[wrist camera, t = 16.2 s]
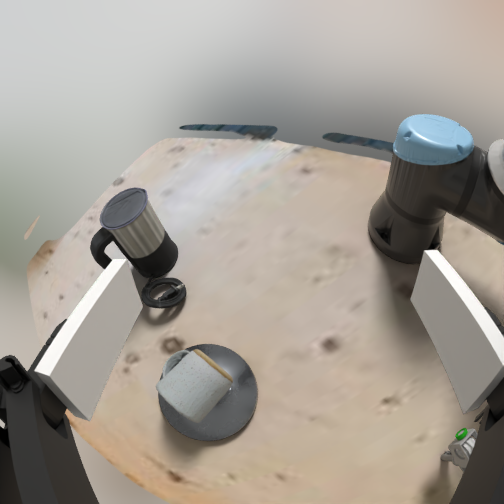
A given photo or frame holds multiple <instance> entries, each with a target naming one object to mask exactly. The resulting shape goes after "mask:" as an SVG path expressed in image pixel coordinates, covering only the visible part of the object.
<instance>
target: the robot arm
mask: <svg viewBox="0 0 504 504" xmlns="http://www.w3.org/2000/svg"><path fill="white" fill-rule="evenodd" d="M446 212H448V213H449V214H452V215H453V216H455V217H457V218H459V219H461V220H463V221H465V222H467V223H469V224H470V225H472V226H474V227H475V228H477V229H479V230H481V231H482V232H484V233H486V234H487V235H489V236H490V237H492V238H494V239H495V240H497V241H498V242H499V243H500V244H503V245H504V139H503V140H502V139H501V140H497V141H495V142H494V143H493V144H492V145H491V146H490V148H489V150H488V152H486V151H484V150H482V149H480V148H478V147H476V146H474V142H473V137H472V136H471V134H470V133H469V132H468V130H467V129H466V128H464V127H461V126H460V124H458V123H456V122H455V121H452V120H450V119H448V118H444V117H441V116H437V115H430V114H421V115H414V116H410V117H408V118H406V119H405V120H404V121H403V122H402V123H401V124H400V126H399V129H398V133H397V137H396V141H395V142H394V144H393V157H392V162H391V167H390V172H389V176H388V181H387V185H386V189H385V191H384V192H383V194H382V195H381V196H380V197H379V199H378V200H377V201H376V203H375V204H374V206H373V207H372V209H371V212H370V217H369V221H368V229H369V233H370V236H371V238H372V240H373V242H374V243H375V244H376V246H377V247H378V248H379V249H380V250H381V251H382V252H383V253H385V254H386V255H387V256H389V257H391V258H393V259H395V260H397V261H400V262H404V263H410V264H415V263H421V265H420V268H419V272H418V276H417V279H416V283H415V286H414V289H413V293H412V296H411V299H410V300H411V302H412V304H413V306H414V307H415V309H416V311H417V313H418V315H419V317H420V318H421V320H422V322H423V324H424V326H425V328H426V330H427V332H428V334H429V336H430V338H431V340H432V342H433V344H434V346H435V348H436V350H437V352H438V355H439V357H440V359H441V361H442V363H443V365H444V368H445V370H446V372H447V374H448V377H449V379H450V381H451V384H452V386H453V389H454V391H455V394H456V396H457V399H458V401H459V404H460V406H461V409H462V412H463V414H465V413H467V412H470V411H472V410H475V409H477V408H479V407H480V405H481V404H482V403H483V402H484V401H485V400H486V399H487V402H488V405H487V407H486V408H485V409H484V410H483V411H482V412H481V413H480V414H479V415H478V416H477V417H476V419H475V421H474V422H477V421H478V420H479V419H480V418H481V417H482V416H483V418H482V420H481V421H480V422H479V424H481V425H480V428H479V432H478V435H477V438H476V441H475V444H474V447H473V450H472V453H471V456H470V458H469V461H468V464H467V466H466V469H465V471H464V474H463V476H462V478H461V481H460V483H459V485H458V487H457V489H456V491H455V494H454V496H453V498H452V500H451V502H450V504H504V327H503V326H501V323H500V321H499V320H498V318H497V317H496V316H495V314H493V313H492V312H491V311H490V310H489V309H487V308H486V307H485V308H484V307H483V306H482V305H481V303H480V302H479V300H478V299H477V298H476V296H475V295H474V294H473V293H472V291H471V290H470V289H469V287H468V286H467V285H466V283H465V282H464V281H463V280H462V278H461V277H460V276H459V275H458V274H457V272H456V271H455V270H454V269H453V268H452V266H451V265H450V264H449V263H448V262H447V260H446V259H445V258H444V257H443V256H442V255H441V254H440V252H439V251H438V250H437V249H438V247H439V246H440V244H441V241H442V236H443V225H444V216H445V214H446ZM142 308H143V305H142V302H141V299H140V297H139V294H138V291H137V288H136V285H135V282H134V279H133V276H132V273H131V270H130V267H129V264H128V261H127V259H113V260H112V261H111V263H110V264H109V265H108V266H107V268H106V269H105V270H104V271H103V273H102V274H101V275H100V276H99V278H98V279H97V280H96V281H95V283H94V284H93V285H92V287H91V288H90V289H89V291H88V292H87V293H86V295H85V296H84V297H83V299H82V300H81V301H80V303H79V304H78V305H77V307H76V308H75V310H74V311H73V312H72V314H71V315H70V317H69V318H68V319H65V320H64V321H63V322H62V323H60V324H59V325H58V326H57V327H56V329H55V330H54V331H53V333H52V334H51V338H49V339H48V340H47V342H46V345H44V346H43V348H42V349H41V351H40V353H39V354H38V356H37V357H36V359H35V360H34V362H33V364H32V365H31V367H30V369H29V370H28V372H27V371H26V370H25V368H24V367H23V366H22V365H21V364H20V362H19V361H18V359H17V358H16V357H15V356H12V355H9V356H5V357H3V358H2V359H0V419H1V420H2V421H3V422H4V423H5V427H4V429H3V428H2V427H1V426H0V504H99V502H98V500H97V498H96V496H95V494H94V491H93V489H92V487H91V484H90V482H89V480H88V477H87V474H86V472H85V469H84V467H83V464H82V461H81V459H80V456H79V453H78V450H77V447H76V444H75V440H74V437H73V434H72V430H71V427H70V423H69V419H68V417H67V415H66V414H65V411H66V409H68V410H69V411H70V412H71V413H72V414H73V415H74V416H76V417H79V418H82V419H85V420H88V421H91V418H92V416H93V413H94V411H95V408H96V406H97V404H98V401H99V399H100V397H101V394H102V392H103V390H104V387H105V385H106V383H107V381H108V378H109V376H110V374H111V372H112V369H113V367H114V365H115V363H116V361H117V359H118V356H119V354H120V352H121V350H122V348H123V346H124V344H125V342H126V340H127V338H128V336H129V334H130V332H131V330H132V328H133V326H134V324H135V322H136V320H137V318H138V316H139V314H140V312H141V310H142Z"/></svg>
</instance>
